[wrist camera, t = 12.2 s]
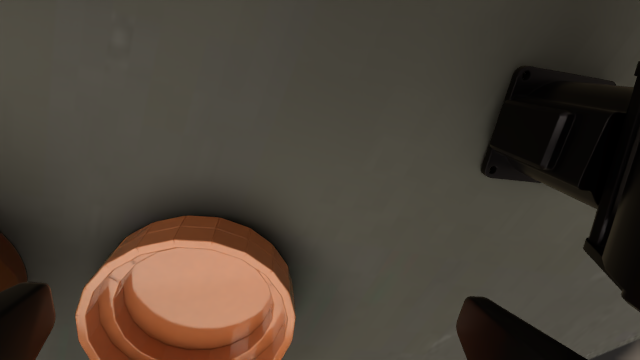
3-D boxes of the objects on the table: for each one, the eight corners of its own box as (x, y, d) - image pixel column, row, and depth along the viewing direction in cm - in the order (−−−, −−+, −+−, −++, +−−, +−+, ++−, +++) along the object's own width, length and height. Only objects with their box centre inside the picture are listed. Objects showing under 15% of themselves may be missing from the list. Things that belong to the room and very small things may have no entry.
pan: (302, 219, 20) (307, 246, 17) (282, 357, 24) (283, 397, 21) (95, 205, 18) (62, 233, 15) (111, 358, 21) (87, 404, 19)
